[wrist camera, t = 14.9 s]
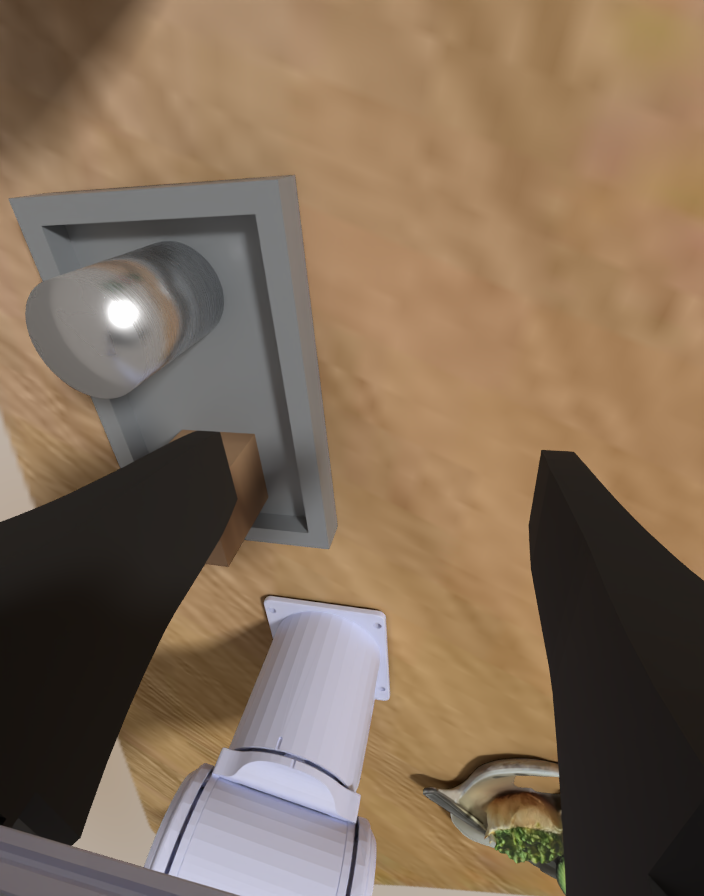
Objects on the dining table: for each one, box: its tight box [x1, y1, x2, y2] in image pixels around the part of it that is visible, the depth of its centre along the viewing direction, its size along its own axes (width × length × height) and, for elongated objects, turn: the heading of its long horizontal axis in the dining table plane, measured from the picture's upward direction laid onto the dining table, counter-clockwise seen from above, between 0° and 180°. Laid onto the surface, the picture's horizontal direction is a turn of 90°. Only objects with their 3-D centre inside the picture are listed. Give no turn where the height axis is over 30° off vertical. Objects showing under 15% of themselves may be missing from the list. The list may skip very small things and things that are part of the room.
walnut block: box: [169, 430, 268, 567], centre depth 23 cm, size 4×4×5 cm
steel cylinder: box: [25, 241, 224, 399], centre depth 18 cm, size 4×4×6 cm
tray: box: [9, 175, 338, 549], centre depth 22 cm, size 17×11×2 cm, turn 4°
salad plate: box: [423, 758, 566, 895], centre depth 38 cm, size 19×18×5 cm
